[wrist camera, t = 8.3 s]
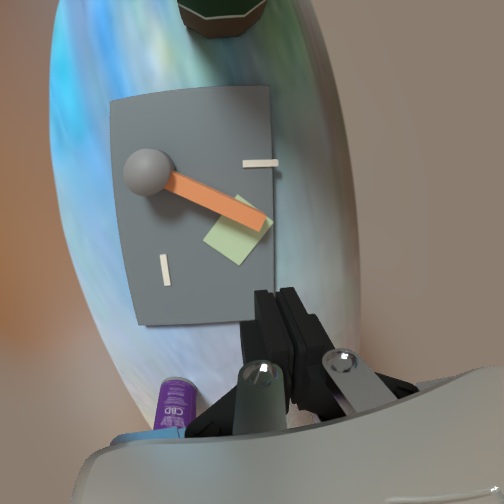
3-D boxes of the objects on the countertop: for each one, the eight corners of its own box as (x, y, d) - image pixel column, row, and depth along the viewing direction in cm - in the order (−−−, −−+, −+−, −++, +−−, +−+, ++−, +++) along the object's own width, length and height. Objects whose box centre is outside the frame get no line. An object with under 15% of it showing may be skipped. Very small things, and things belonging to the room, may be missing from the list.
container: (185, 372, 30) (178, 482, 16) (203, 395, 32) (203, 497, 18) (154, 381, 30) (135, 483, 16) (172, 403, 32) (163, 499, 18)
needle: (127, 182, 21) (116, 185, 19) (144, 143, 20) (134, 141, 18) (250, 237, 24) (254, 247, 21) (269, 201, 23) (275, 206, 21)
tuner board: (114, 103, 20) (109, 100, 19) (272, 89, 21) (275, 85, 20) (141, 319, 27) (138, 326, 26) (276, 311, 29) (278, 318, 27)
